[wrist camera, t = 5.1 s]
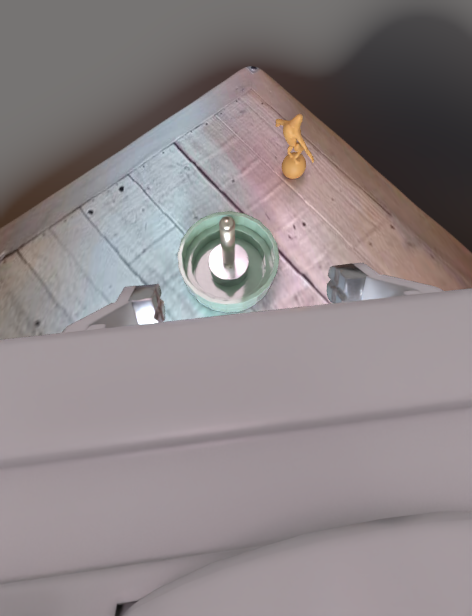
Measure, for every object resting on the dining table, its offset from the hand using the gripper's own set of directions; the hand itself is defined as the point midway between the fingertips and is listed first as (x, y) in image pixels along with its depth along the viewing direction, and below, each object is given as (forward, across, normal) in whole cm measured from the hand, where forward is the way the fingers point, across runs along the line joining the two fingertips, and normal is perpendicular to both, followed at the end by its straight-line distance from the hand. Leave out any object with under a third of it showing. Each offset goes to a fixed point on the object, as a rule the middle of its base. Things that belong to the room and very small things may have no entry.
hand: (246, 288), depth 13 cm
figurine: (+40, -12, 0) cm, 41 cm away
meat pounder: (+28, 0, +10) cm, 30 cm away
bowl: (+28, 0, +11) cm, 30 cm away
